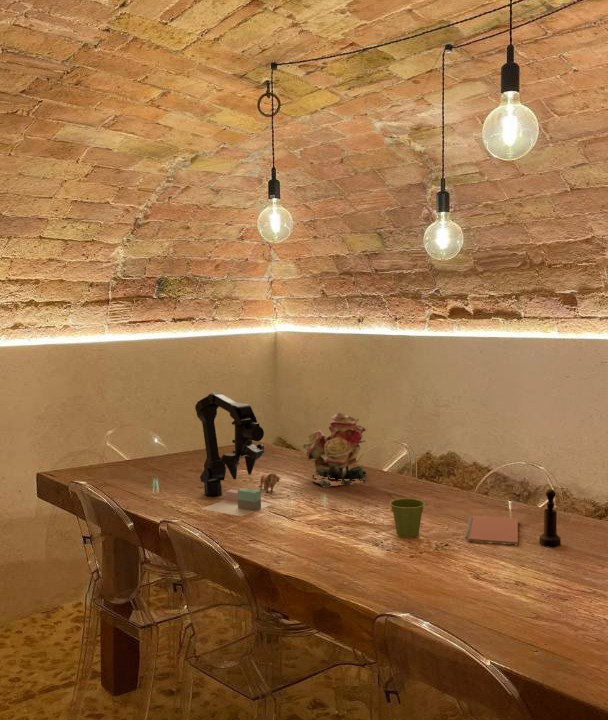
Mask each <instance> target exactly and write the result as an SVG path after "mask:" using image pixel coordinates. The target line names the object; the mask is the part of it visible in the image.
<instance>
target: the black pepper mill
mask: <svg viewBox="0 0 608 720" xmlns="http://www.w3.org/2000/svg"><path fill="white" fill-rule="evenodd" d="M545 496H546V498H547V502H546V507H547V508H544V509H543V533H541V534H540V536H539V545H540V544H541V546H542V545H544V546H543V547H546V546H550V547H549V548H557V547H556V546H558V547H560V546H561V536H559V535H558V534H557V516H558V515H557V514H558V513H557V509H554V507H555V503H554V498H555V497H556V491H555V490H554V489H551V488H549V489H546V491H545ZM559 545H560V546H559Z"/></svg>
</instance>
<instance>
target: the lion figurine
mask: <svg viewBox="0 0 608 720" xmlns="http://www.w3.org/2000/svg"><path fill="white" fill-rule="evenodd" d="M280 480H281V478H280V477H279V476H278V475H277V473H276V472H272V473H269V474H268V475H266V474H262V475H261V477H260V481H259V482H260V485H259V486H258V488H260V490H259V491H263V489H264V490H265V493H266V494H268V493H269V491H270V493H273V492H274V487H275V485H277V484H278V483H279V482H280ZM269 489H270V490H269Z"/></svg>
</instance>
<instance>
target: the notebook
mask: <svg viewBox="0 0 608 720" xmlns="http://www.w3.org/2000/svg"><path fill="white" fill-rule="evenodd" d="M518 524H519V518H515V517H502V516H501V517H500V516H499V517H498V516H486V515H485V516H484V515H483V516H482V515H472V516H470V517H469V518H468V521H467V526H466V531H465V536H464V539H465V538H467V542H468V541H474V542H473V543H477V542H487V543H486V544H489V543H488V542H492V543H506V544H517V545H518V543H519V542H518V541H519V540H518V539H519V537H518V536H519V535H518V530H519V529H518V528H519V525H518Z"/></svg>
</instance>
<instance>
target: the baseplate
mask: <svg viewBox="0 0 608 720" xmlns="http://www.w3.org/2000/svg"><path fill="white" fill-rule="evenodd" d="M272 505H273V503H270V502H263V501H262V499H261V500H259V501H256V502H251V501H245V500H239V499H238V502H234V501H229V500H221V501H219V502H216V503H212V504H210V505H206V506H204V507H202V508H200V509H201V510H204V511H209V512H210V511H211V512H215V513H221V514H227V515H231V516H236V517H244V516H246V515H248V514H251V513H254V512H256V511H259V510H262V509H264V508H266V507H269V506H272Z"/></svg>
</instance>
